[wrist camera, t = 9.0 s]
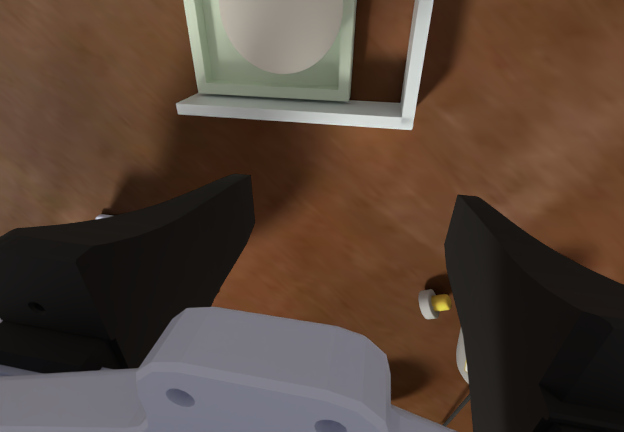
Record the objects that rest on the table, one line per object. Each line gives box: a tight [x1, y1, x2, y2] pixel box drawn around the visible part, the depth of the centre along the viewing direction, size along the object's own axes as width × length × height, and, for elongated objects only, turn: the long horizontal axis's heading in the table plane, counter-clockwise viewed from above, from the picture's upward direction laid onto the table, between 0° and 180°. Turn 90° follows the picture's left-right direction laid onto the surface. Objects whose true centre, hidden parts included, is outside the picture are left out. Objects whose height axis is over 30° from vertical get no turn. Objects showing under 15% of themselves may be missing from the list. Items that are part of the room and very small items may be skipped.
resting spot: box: [184, 0, 357, 102], centre depth 18 cm, size 9×9×1 cm
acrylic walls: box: [176, 0, 434, 130], centre depth 18 cm, size 13×9×3 cm
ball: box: [219, 0, 343, 74], centre depth 16 cm, size 6×6×6 cm
